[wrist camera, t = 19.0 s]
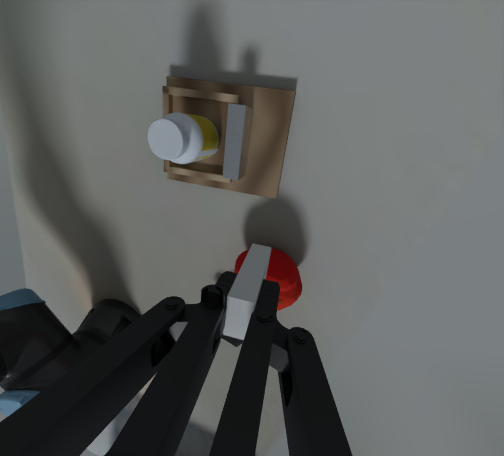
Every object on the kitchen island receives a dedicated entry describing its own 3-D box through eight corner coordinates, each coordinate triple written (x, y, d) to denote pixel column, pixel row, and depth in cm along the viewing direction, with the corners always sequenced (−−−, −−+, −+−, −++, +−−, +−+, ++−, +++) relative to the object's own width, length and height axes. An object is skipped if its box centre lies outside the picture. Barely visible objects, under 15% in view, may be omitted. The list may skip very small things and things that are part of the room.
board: (171, 177, 44) (164, 180, 41) (171, 78, 38) (162, 74, 35) (277, 196, 41) (275, 200, 39) (295, 92, 35) (294, 89, 32)
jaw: (231, 173, 40) (222, 177, 35) (238, 107, 36) (228, 103, 31) (245, 175, 39) (237, 180, 35) (253, 109, 35) (245, 105, 31)
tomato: (254, 227, 44) (240, 252, 35) (313, 259, 44) (316, 293, 35) (230, 270, 49) (213, 302, 40) (284, 299, 49) (280, 339, 39)
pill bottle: (207, 107, 37) (168, 97, 26) (229, 145, 38) (200, 149, 28) (177, 130, 39) (130, 129, 28) (198, 165, 40) (161, 176, 30)
